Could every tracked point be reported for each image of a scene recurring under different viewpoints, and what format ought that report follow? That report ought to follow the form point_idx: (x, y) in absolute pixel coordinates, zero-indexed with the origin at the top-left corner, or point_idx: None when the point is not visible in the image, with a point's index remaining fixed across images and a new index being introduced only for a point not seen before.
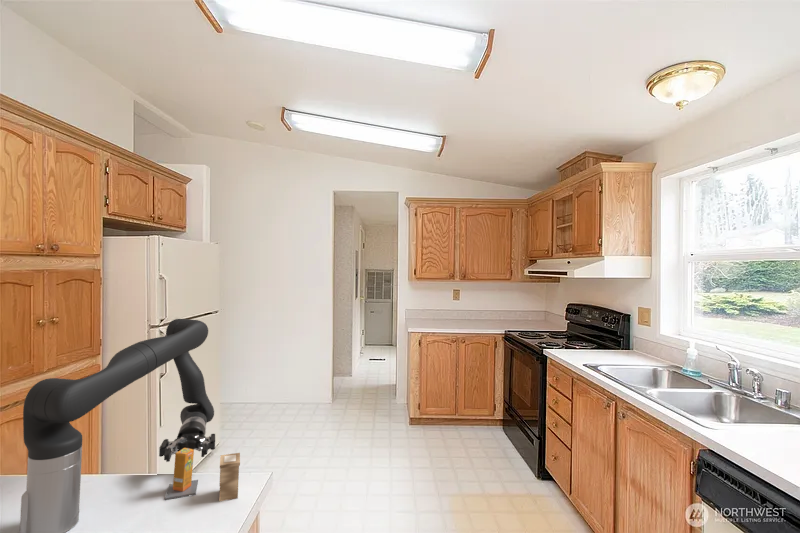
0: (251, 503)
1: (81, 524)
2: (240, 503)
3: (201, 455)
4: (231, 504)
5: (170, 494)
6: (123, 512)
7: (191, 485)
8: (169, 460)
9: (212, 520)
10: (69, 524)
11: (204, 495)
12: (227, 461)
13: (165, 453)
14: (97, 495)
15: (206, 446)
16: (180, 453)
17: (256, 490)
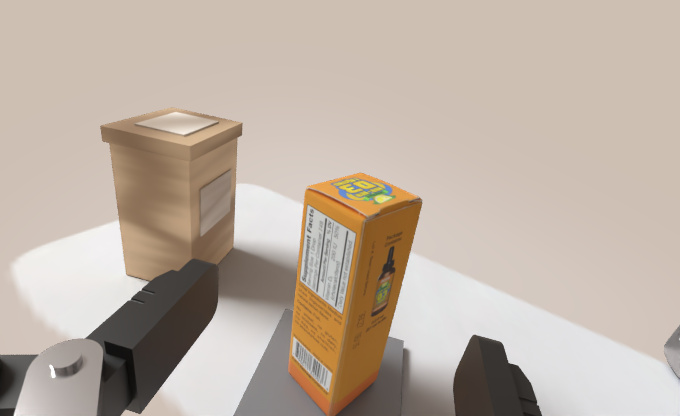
0: None
1: (649, 363)
2: None
3: (217, 296)
4: None
5: (383, 355)
6: (537, 355)
7: (283, 378)
8: (455, 388)
9: (282, 208)
10: (673, 334)
11: (257, 296)
12: (204, 119)
13: (529, 404)
14: None
15: (121, 320)
16: (391, 185)
17: (99, 232)
